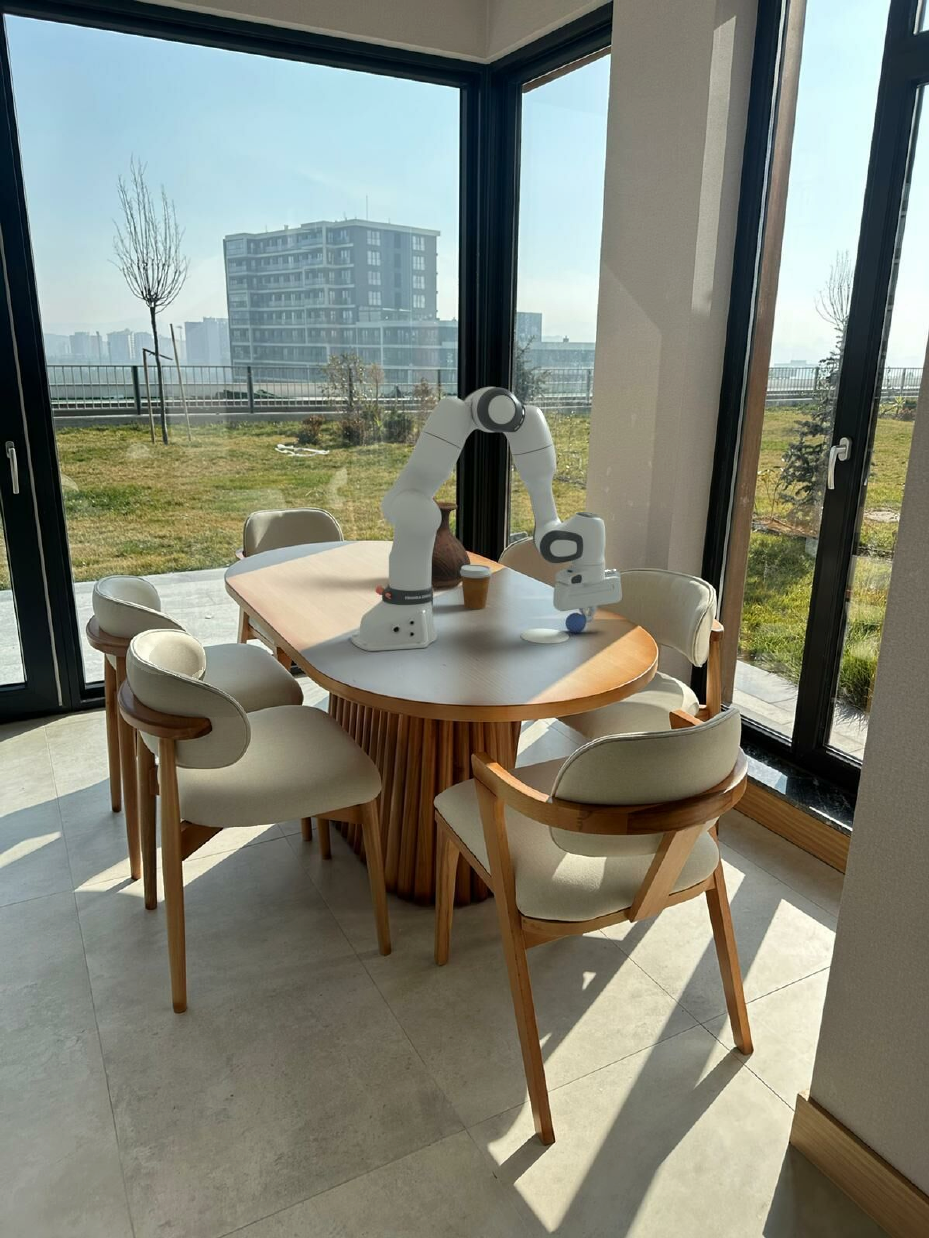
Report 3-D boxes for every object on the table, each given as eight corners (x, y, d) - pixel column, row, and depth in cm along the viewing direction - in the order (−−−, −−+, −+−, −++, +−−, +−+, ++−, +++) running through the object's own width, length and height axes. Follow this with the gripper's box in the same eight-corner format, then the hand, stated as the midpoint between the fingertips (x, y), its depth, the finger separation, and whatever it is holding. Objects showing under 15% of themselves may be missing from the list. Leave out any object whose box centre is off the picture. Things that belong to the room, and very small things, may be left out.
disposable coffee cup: (463, 611, 255) (464, 571, 252) (455, 603, 264) (456, 564, 260) (494, 610, 257) (496, 570, 254) (485, 601, 266) (486, 563, 263)
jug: (473, 578, 296) (475, 490, 288) (467, 593, 276) (469, 499, 267) (410, 575, 298) (410, 488, 290) (399, 590, 278) (399, 497, 269)
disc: (535, 645, 224) (535, 645, 224) (511, 632, 236) (511, 631, 236) (578, 640, 230) (578, 639, 230) (552, 627, 241) (552, 626, 241)
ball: (581, 639, 235) (568, 628, 232) (570, 633, 240) (558, 622, 237) (593, 623, 235) (580, 612, 232) (582, 617, 240) (570, 606, 237)
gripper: (613, 565, 241) (612, 613, 245) (550, 575, 232) (550, 624, 236) (627, 570, 235) (625, 619, 239) (562, 579, 227) (562, 630, 231)
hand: (587, 621), depth 238 cm, fingers closed
